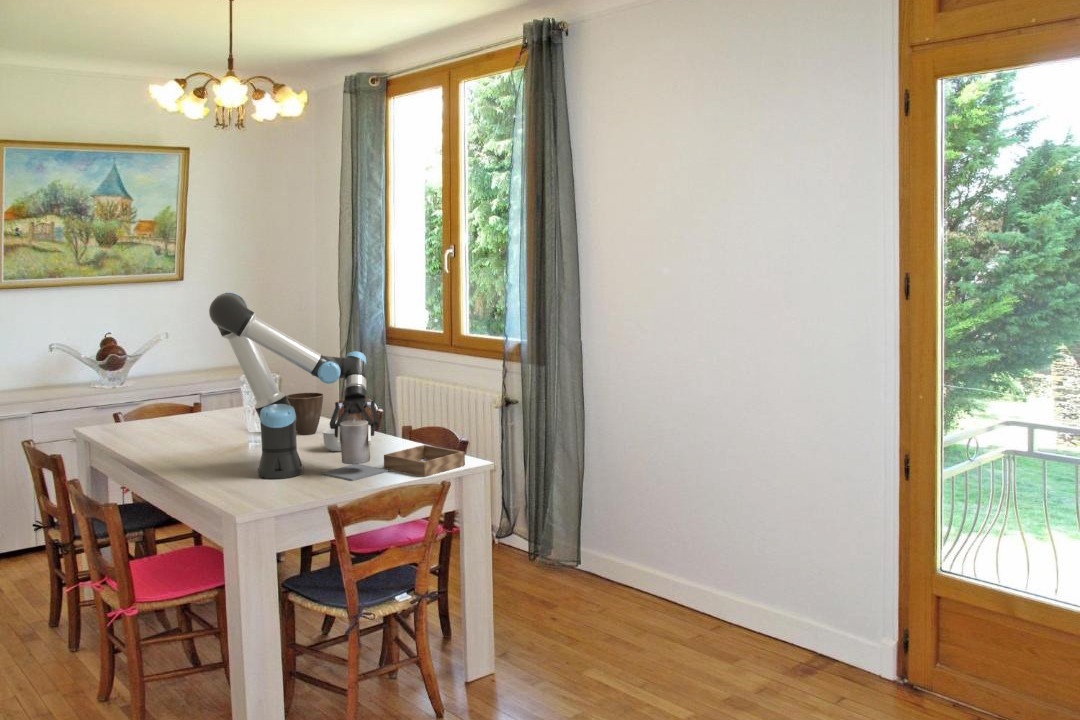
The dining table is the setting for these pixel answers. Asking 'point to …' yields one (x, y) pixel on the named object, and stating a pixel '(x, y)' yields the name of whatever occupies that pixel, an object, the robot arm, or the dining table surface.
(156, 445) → the dining table surface
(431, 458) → the walnut box
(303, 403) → the plant pot
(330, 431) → the teacup
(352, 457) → the pillar candle
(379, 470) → the grey rubber mat
